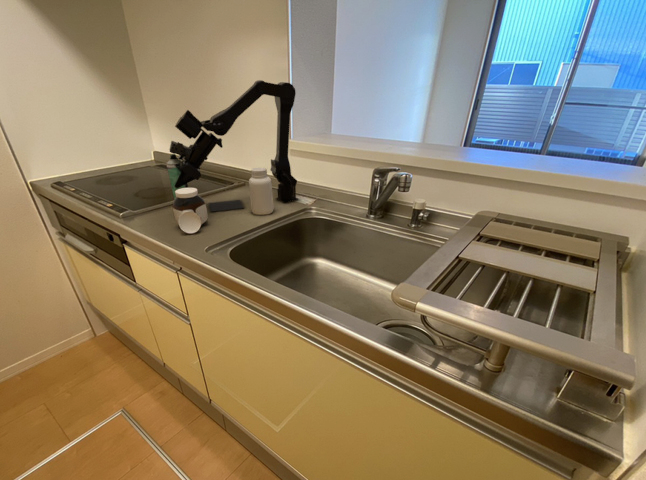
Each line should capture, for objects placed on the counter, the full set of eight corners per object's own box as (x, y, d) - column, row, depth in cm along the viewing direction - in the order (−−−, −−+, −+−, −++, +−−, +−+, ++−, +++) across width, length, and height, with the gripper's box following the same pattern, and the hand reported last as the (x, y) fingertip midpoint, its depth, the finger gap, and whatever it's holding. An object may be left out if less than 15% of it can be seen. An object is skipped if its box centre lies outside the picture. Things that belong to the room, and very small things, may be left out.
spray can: (196, 211, 126) (184, 153, 115) (186, 216, 122) (173, 156, 111) (184, 209, 128) (172, 152, 117) (174, 213, 124) (160, 155, 113)
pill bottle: (254, 207, 129) (250, 166, 120) (275, 208, 128) (273, 166, 119) (249, 215, 122) (244, 171, 114) (271, 215, 121) (268, 172, 113)
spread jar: (200, 218, 120) (193, 185, 113) (218, 226, 113) (212, 191, 107) (168, 228, 113) (159, 193, 106) (186, 237, 106) (178, 200, 100)
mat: (239, 200, 136) (239, 199, 136) (243, 208, 128) (243, 207, 128) (209, 204, 133) (209, 203, 133) (211, 212, 125) (211, 211, 125)
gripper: (179, 127, 119) (153, 164, 122) (182, 135, 104) (153, 176, 107) (205, 150, 125) (181, 184, 128) (212, 160, 111) (184, 198, 114)
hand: (175, 185), depth 119 cm, fingers closed on spray can, 5 cm apart
